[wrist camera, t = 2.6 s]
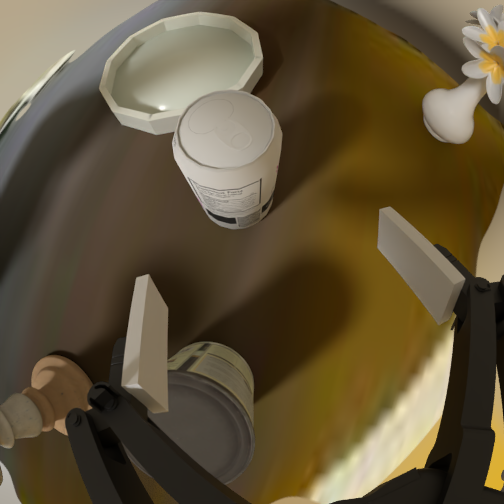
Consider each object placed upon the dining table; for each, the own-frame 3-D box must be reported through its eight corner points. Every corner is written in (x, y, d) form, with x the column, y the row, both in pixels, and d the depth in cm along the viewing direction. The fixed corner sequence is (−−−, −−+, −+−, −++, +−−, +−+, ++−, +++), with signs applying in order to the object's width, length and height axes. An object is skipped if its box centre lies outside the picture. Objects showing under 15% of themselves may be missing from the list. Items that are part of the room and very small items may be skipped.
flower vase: (383, 135, 35) (475, 3, 10) (424, 79, 37) (487, -17, 12) (450, 196, 33) (578, 116, 9) (478, 128, 35) (560, 53, 11)
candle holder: (70, 445, 29) (-13, 502, 9) (25, 377, 30) (-73, 401, 10) (118, 416, 30) (22, 490, 10) (65, 338, 31) (-55, 354, 11)
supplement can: (188, 197, 34) (145, 131, 19) (239, 152, 34) (229, 69, 20) (235, 245, 33) (218, 204, 18) (287, 197, 33) (308, 127, 19)
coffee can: (225, 437, 29) (208, 508, 15) (151, 390, 30) (95, 438, 16) (273, 372, 30) (285, 424, 17) (195, 323, 31) (151, 341, 17)
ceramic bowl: (83, 114, 36) (73, 103, 33) (162, 21, 39) (158, 9, 36) (214, 154, 34) (210, 140, 31) (283, 42, 38) (285, 27, 34)
